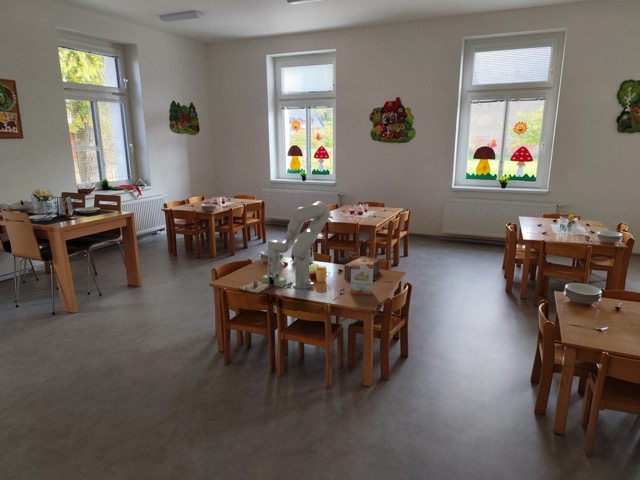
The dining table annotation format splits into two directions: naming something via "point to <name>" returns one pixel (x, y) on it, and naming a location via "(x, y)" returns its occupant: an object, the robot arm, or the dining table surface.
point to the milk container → (310, 253)
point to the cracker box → (361, 277)
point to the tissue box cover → (362, 259)
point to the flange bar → (275, 281)
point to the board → (255, 287)
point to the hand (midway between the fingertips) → (274, 283)
